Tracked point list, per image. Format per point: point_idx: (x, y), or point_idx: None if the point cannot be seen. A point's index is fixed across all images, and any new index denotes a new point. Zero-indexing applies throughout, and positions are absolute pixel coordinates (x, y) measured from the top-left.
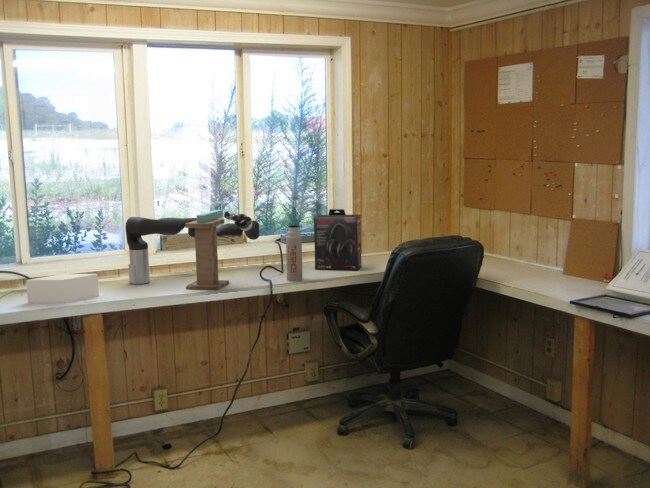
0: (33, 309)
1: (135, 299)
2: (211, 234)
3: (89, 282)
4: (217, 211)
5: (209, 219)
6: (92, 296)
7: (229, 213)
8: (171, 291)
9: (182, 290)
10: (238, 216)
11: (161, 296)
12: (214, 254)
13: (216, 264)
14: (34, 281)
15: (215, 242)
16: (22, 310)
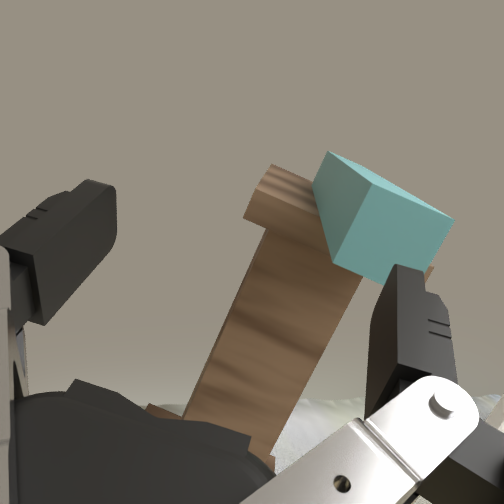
0: (487, 402)
1: (354, 401)
2: (261, 239)
3: (498, 419)
4: (350, 167)
5: (318, 188)
6: None
7: (404, 392)
8: (306, 451)
9: (275, 452)
10: (134, 414)
11: (305, 404)
12: (214, 346)
13: (188, 406)
14: None
15: (235, 301)
16: (497, 402)
